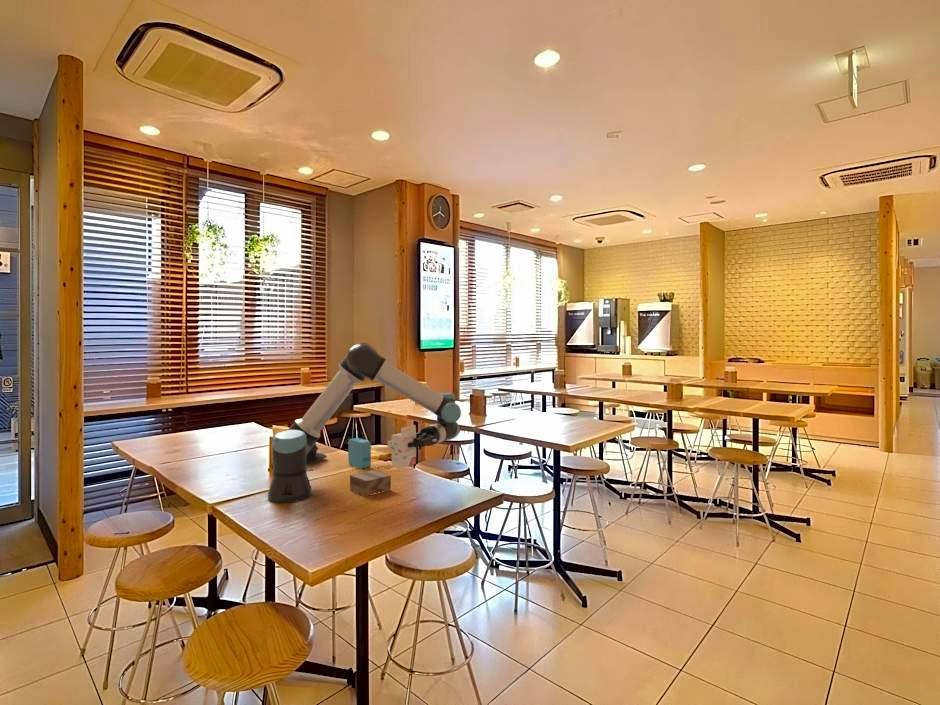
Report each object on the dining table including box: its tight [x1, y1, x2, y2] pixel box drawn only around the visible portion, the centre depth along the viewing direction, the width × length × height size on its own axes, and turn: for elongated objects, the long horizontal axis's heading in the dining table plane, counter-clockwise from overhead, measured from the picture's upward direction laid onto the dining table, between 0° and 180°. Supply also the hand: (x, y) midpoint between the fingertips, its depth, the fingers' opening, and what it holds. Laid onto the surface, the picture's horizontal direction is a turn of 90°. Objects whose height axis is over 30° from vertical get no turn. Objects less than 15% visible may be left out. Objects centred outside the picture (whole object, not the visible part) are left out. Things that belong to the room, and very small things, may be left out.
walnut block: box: [349, 469, 392, 497], centre depth 191 cm, size 11×11×6 cm
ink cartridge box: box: [391, 424, 417, 469], centre depth 182 cm, size 9×5×15 cm, turn 146°
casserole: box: [306, 443, 327, 465], centre depth 232 cm, size 25×19×8 cm
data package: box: [347, 437, 372, 470], centre depth 226 cm, size 12×4×12 cm, turn 44°
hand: (394, 445), depth 178 cm, fingers closed on ink cartridge box, 5 cm apart
